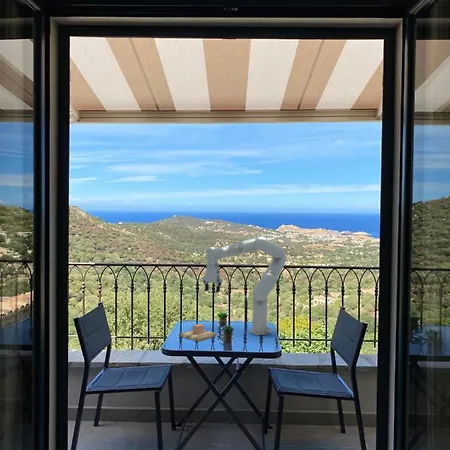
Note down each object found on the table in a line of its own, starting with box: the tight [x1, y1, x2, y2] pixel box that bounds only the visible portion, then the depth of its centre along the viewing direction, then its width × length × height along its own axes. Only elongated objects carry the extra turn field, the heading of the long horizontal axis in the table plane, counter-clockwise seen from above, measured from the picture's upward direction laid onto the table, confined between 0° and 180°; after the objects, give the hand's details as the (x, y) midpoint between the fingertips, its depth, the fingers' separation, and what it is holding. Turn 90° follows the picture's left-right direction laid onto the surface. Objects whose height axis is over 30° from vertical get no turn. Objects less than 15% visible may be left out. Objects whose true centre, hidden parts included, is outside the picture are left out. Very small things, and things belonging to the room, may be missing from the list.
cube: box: [192, 323, 205, 335], centre depth 247 cm, size 5×5×5 cm
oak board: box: [179, 329, 217, 343], centre depth 247 cm, size 16×16×2 cm
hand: (212, 291), depth 263 cm, fingers open, 9 cm apart
